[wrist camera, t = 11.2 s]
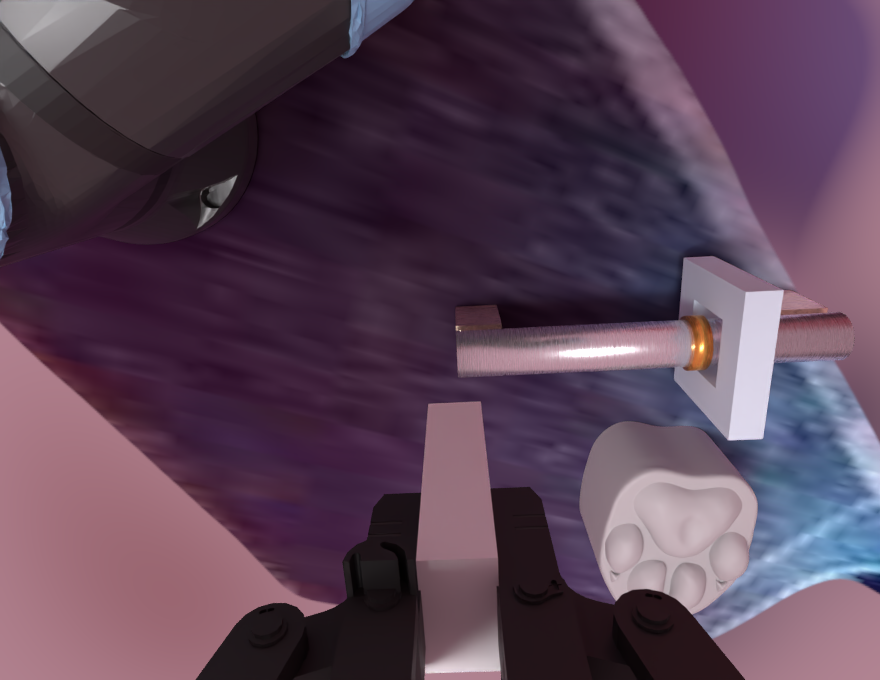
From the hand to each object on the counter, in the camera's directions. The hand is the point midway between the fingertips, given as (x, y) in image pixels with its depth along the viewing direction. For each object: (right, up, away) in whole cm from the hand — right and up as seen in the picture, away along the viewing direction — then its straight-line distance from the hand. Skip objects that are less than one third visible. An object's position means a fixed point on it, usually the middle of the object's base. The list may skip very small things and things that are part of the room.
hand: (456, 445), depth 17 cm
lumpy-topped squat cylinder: (+16, -9, +31) cm, 37 cm away
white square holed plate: (+17, +4, +25) cm, 30 cm away
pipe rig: (+13, +5, +26) cm, 29 cm away
